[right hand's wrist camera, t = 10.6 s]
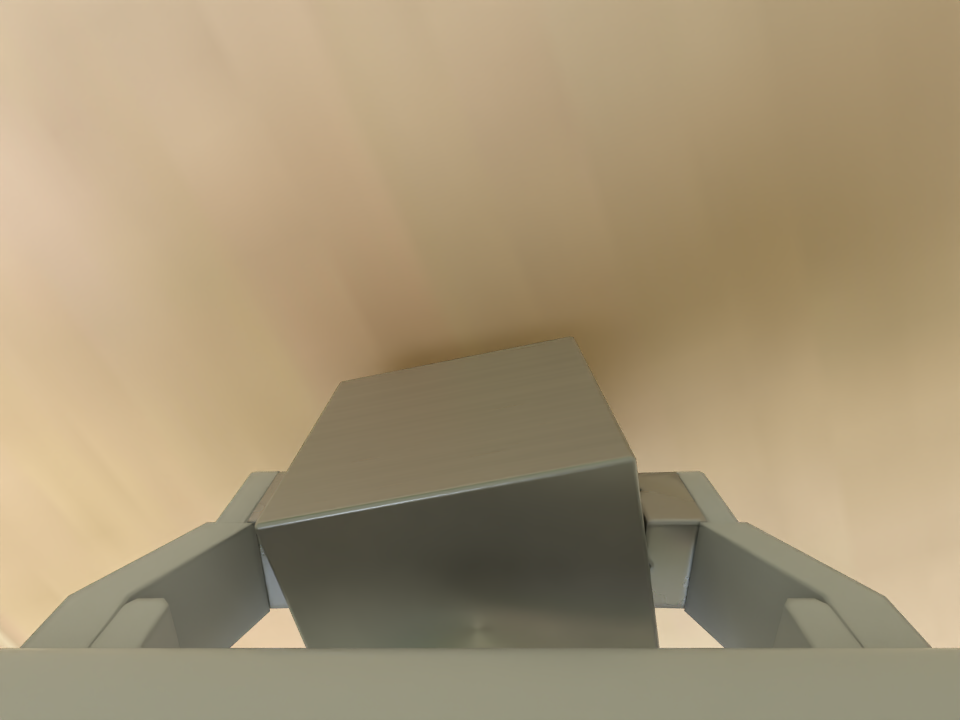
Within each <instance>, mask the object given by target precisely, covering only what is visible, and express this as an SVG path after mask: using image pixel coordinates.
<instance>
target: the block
mask: <svg viewBox="0 0 960 720" xmlns="http://www.w3.org/2000/svg"><path fill="white" fill-rule="evenodd" d="M255 531H256V534H257V536H258V538H259V540H260V543H261V545H262V547H263V550H264V552H265V554H266V557H267V559H268V561H269V563H270V566H271V568H272V570H273V573H274V575H275V577H276V580H277V582H278V584H279V586H280V589H281V591H282V593H283V596H284V598H285V600H286V602H287V605H288V607H289V609H290V612H291V614H292V616H293V619H294V621H295V623H296V625H297V628H298V630H299V632H300V635H301V637H302V639H303V642H304V644H305V646H306V648H659V640H658V632H657V624H656V616H655V608H654V600H653V592H652V584H651V576H650V567H649V559H648V551H647V543H646V535H645V527H644V519H643V511H642V503H641V495H640V487H639V478H638V470H637V462H636V458H635V456H634V454H633V452H632V450H631V448H630V446H629V444H628V442H627V440H626V438H625V436H624V435H623V433H622V431H621V429H620V427H619V425H618V423H617V421H616V419H615V417H614V415H613V413H612V411H611V409H610V407H609V405H608V403H607V401H606V399H605V398H604V396H603V394H602V392H601V390H600V388H599V386H598V384H597V382H596V380H595V378H594V376H593V374H592V372H591V370H590V368H589V366H588V364H587V362H586V361H585V359H584V357H583V355H582V353H581V351H580V349H579V347H578V345H577V343H576V341H575V339H574V338H573V337H565V338H560V339H555V340H550V341H545V342H540V343H535V344H530V345H525V346H520V347H515V348H509V349H504V350H499V351H494V352H489V353H484V354H479V355H474V356H469V357H464V358H459V359H454V360H449V361H444V362H439V363H434V364H429V365H423V366H418V367H413V368H408V369H403V370H398V371H393V372H388V373H383V374H378V375H373V376H368V377H363V378H358V379H353V380H348V381H343V382H341V383H340V384H339V386H338V387H337V389H336V391H335V392H334V394H333V396H332V397H331V399H330V401H329V402H328V404H327V406H326V407H325V409H324V411H323V412H322V414H321V416H320V417H319V419H318V420H317V422H316V424H315V425H314V427H313V429H312V430H311V432H310V434H309V435H308V437H307V439H306V440H305V442H304V444H303V445H302V447H301V449H300V450H299V452H298V454H297V455H296V457H295V459H294V460H293V462H292V463H291V465H290V467H289V468H288V470H287V472H286V473H285V475H284V477H283V478H282V480H281V482H280V483H279V485H278V487H277V488H276V490H275V492H274V493H273V495H272V497H271V498H270V500H269V502H268V503H267V505H266V506H265V508H264V510H263V511H262V513H261V515H260V516H259V518H258V520H257V521H256V523H255Z"/></svg>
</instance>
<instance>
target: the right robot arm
mask: <svg viewBox="0 0 960 720" xmlns="http://www.w3.org/2000/svg"><path fill="white" fill-rule="evenodd" d="M285 473H286V472H279V471H258V472H253V473H251V474H250V475H249V477H248V478H247V479H246V481H245V482H244V483H243V485H242V486H241V488H240V489H239V490H238V492H237V493H236V494H235V496H234V497H233V499H232V500H231V501H230V503H229V504H228V505H227V507H226V508H225V510H224V511H223V512H222V514H221V515H220V517H219V518H218V519H217V521H216V522H207V523H205V524H203V525H201V526H199V527H198V528H196V529H194V530H192V531H190V532H188V533H186V534H184V535H182V536H181V537H179V538H177V539H175V540H173V541H171V542H169V543H167V544H165V545H164V546H162V547H160V548H158V549H156V550H154V551H152V552H150V553H148V554H147V555H145V556H143V557H141V558H139V559H137V560H135V561H133V562H131V563H130V564H128V565H126V566H124V567H122V568H120V569H118V570H116V571H115V572H113V573H111V574H109V575H107V576H105V577H103V578H101V579H99V580H98V581H96V582H94V583H92V584H90V585H88V586H86V587H84V588H82V589H81V590H79V591H77V592H75V593H73V594H71V595H69V596H68V597H67V598H66V599H65V600H64V601H63V602H62V603H61V604H60V605H59V606H58V608H57V609H56V610H55V611H54V612H53V613H52V614H51V615H50V616H49V617H48V618H47V619H46V620H45V621H44V623H43V624H42V625H41V626H40V627H39V628H38V629H37V630H36V631H35V632H34V633H33V634H32V635H31V636H30V637H29V639H28V640H27V641H26V642H25V643H24V644H23V645H22V646H21V647H20V648H0V720H960V648H932V647H931V646H930V645H929V644H928V643H927V642H926V641H925V639H924V638H923V637H922V636H921V635H920V634H919V633H918V632H917V631H916V630H915V628H914V627H913V626H912V625H911V624H910V623H909V622H908V621H907V620H906V619H905V618H904V616H903V615H902V614H901V613H900V612H899V611H898V610H897V609H896V608H895V607H894V605H893V604H892V603H891V602H890V601H889V600H888V599H887V598H886V597H885V596H883V595H881V594H879V593H878V592H876V591H874V590H872V589H870V588H868V587H866V586H864V585H863V584H861V583H859V582H857V581H855V580H853V579H851V578H850V577H848V576H846V575H844V574H842V573H840V572H838V571H837V570H835V569H833V568H831V567H829V566H827V565H825V564H824V563H822V562H820V561H818V560H816V559H814V558H812V557H810V556H809V555H807V554H805V553H803V552H801V551H799V550H797V549H796V548H794V547H792V546H790V545H788V544H786V543H784V542H783V541H781V540H779V539H777V538H775V537H773V536H771V535H770V534H768V533H766V532H764V531H762V530H760V529H758V528H756V527H755V526H753V525H751V524H749V523H747V522H738V520H737V519H736V518H735V516H734V515H733V513H732V512H731V511H730V509H729V508H728V506H727V505H726V504H725V502H724V501H723V499H722V498H721V497H720V495H719V494H718V492H717V491H716V490H715V488H714V487H713V485H712V484H711V483H710V481H709V480H708V478H707V477H706V476H705V474H704V473H702V472H700V471H685V472H658V473H638V478H639V487H640V495H641V503H642V511H643V519H644V527H645V535H646V543H647V551H648V559H649V567H650V576H651V584H652V592H653V600H654V608H685V610H684V611H685V612H686V613H688V614H689V615H690V616H691V617H692V618H693V619H694V620H695V621H696V622H697V623H698V624H699V625H700V626H702V627H703V628H704V629H705V630H706V631H707V632H708V633H709V634H710V635H711V636H712V637H713V638H715V639H716V640H717V641H718V642H719V643H720V644H721V645H722V646H723V647H724V648H230V647H231V646H232V645H233V644H234V643H236V642H237V641H238V640H239V639H240V638H241V637H242V636H243V635H244V634H245V633H247V632H248V631H249V630H250V629H251V628H252V627H253V626H254V625H255V624H256V623H257V622H259V621H260V620H261V619H262V618H263V617H264V616H265V615H266V614H267V613H268V612H269V611H270V608H289V607H288V605H287V602H286V600H285V598H284V596H283V593H282V591H281V589H280V586H279V584H278V582H277V580H276V577H275V575H274V573H273V570H272V568H271V566H270V563H269V561H268V559H267V557H266V554H265V552H264V550H263V547H262V545H261V543H260V540H259V538H258V536H257V534H256V531H255V523H256V521H257V520H258V518H259V516H260V515H261V513H262V511H263V510H264V508H265V506H266V505H267V503H268V502H269V500H270V498H271V497H272V495H273V493H274V492H275V490H276V488H277V487H278V485H279V483H280V482H281V480H282V478H283V477H284V475H285Z"/></svg>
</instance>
